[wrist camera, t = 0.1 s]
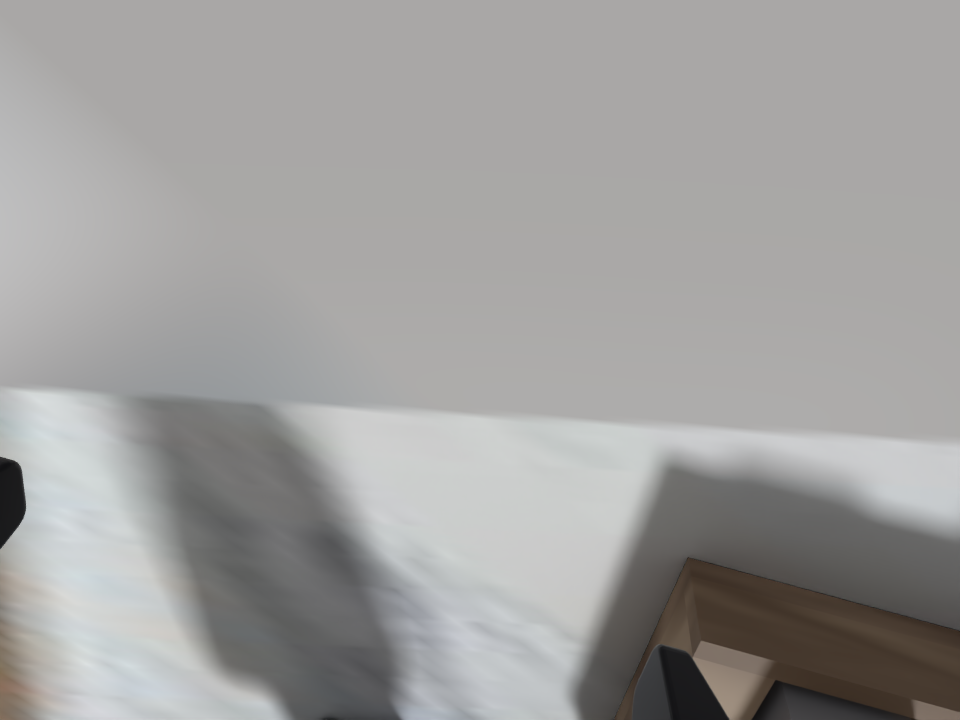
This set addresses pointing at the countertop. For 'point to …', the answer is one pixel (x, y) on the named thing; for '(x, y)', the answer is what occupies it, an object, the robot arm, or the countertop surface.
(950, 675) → the wooden sorting tray
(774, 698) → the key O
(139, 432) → the countertop surface
